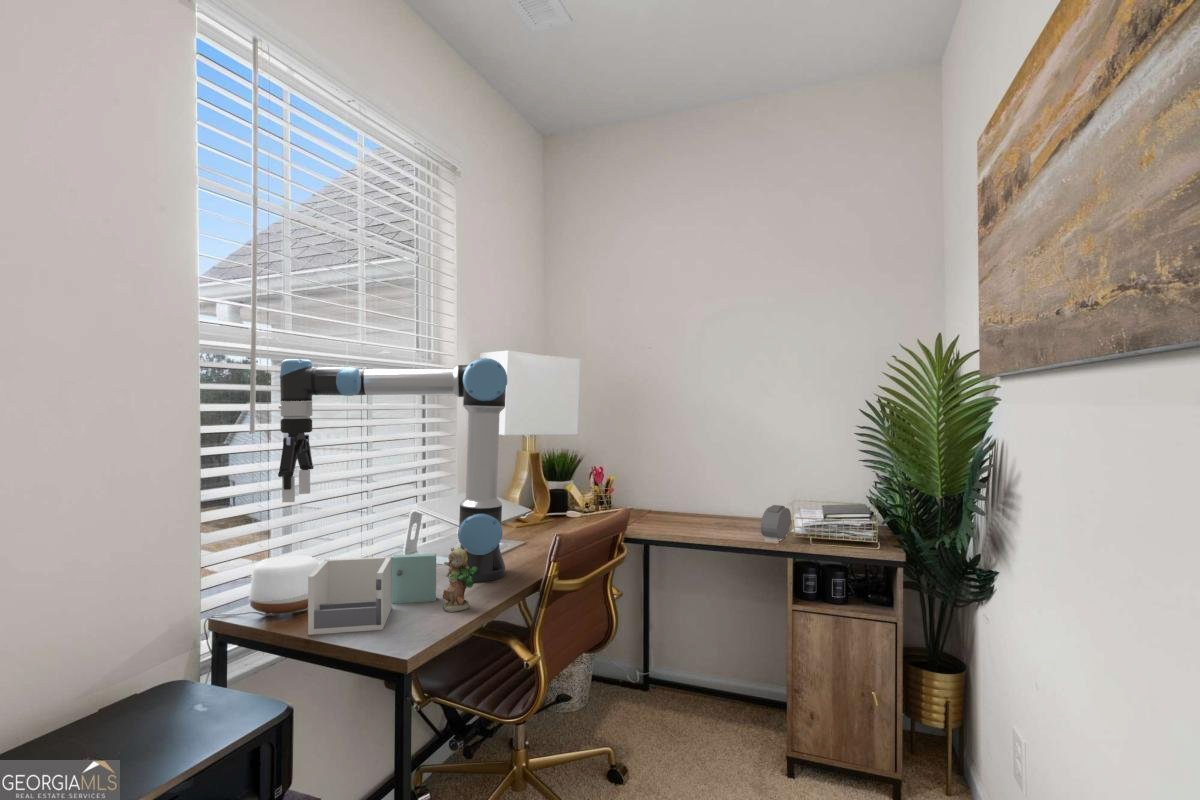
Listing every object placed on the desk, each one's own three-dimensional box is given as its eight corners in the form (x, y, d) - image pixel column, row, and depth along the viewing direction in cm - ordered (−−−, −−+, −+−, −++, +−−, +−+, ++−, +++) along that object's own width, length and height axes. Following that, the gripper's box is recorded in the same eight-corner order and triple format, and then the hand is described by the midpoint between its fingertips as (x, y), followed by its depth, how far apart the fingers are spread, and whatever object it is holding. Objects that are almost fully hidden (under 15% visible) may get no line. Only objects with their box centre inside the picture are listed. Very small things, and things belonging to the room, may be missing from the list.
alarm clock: (775, 532, 239) (775, 500, 239) (791, 534, 236) (791, 501, 236) (760, 544, 219) (760, 509, 219) (777, 546, 216) (777, 511, 216)
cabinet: (391, 607, 152) (392, 556, 152) (382, 630, 137) (382, 573, 137) (324, 612, 149) (324, 559, 149) (307, 635, 134) (307, 576, 134)
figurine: (435, 609, 151) (435, 550, 151) (456, 600, 158) (456, 544, 158) (463, 615, 147) (463, 555, 146) (483, 606, 153) (483, 548, 153)
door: (436, 597, 160) (436, 553, 160) (435, 602, 156) (435, 556, 156) (393, 600, 158) (393, 555, 158) (391, 604, 154) (391, 558, 154)
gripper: (295, 416, 169) (296, 490, 169) (264, 419, 145) (264, 506, 145) (324, 416, 171) (324, 489, 171) (297, 419, 146) (297, 505, 146)
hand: (296, 497), depth 158 cm, fingers open, 13 cm apart
